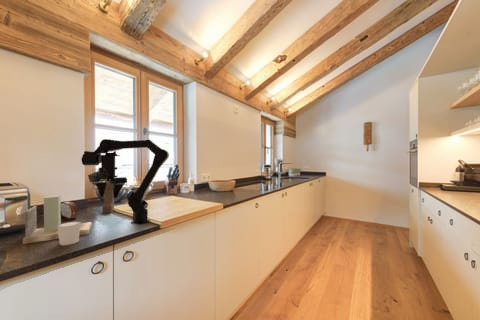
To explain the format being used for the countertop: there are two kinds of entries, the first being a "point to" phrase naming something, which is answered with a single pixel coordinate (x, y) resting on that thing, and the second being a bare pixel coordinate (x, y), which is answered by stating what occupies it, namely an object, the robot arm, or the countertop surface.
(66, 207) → the tin
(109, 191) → the wooden block
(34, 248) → the countertop surface
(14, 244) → the countertop surface
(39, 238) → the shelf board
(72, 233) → the white cup
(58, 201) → the sage block
